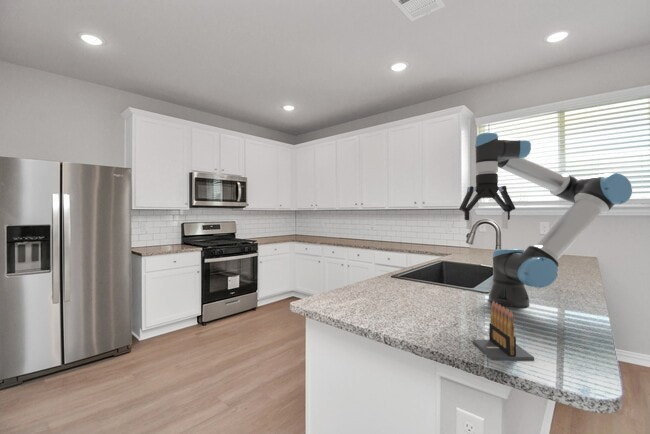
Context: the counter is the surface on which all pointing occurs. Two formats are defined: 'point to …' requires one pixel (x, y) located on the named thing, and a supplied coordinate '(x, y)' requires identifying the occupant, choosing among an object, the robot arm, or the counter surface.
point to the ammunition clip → (502, 329)
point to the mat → (498, 354)
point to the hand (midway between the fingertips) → (487, 228)
